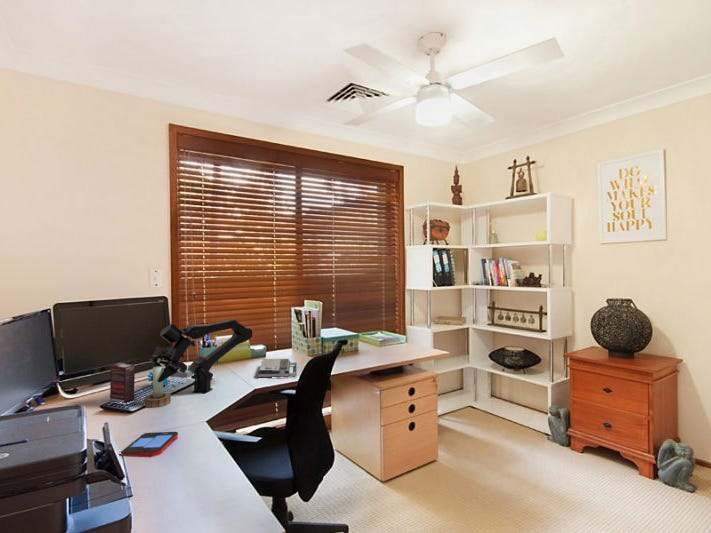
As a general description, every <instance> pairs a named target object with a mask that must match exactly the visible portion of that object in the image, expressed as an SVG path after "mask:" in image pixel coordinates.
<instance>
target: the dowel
mask: <svg viewBox="0 0 711 533" xmlns="http://www.w3.org/2000/svg"><path fill="white" fill-rule="evenodd" d="M164 368H165V366H164V367H163V366H156V367H155V366H153V367H152V371H153V381H152V382H153V386H152V394H153V397H155V398H157V397H162V396H163V392H164V387H163V385H164V383H163V381H161V382H160V383H159V382H158V379H159V377H160V376H161V374H162V373H163V371H164Z"/></svg>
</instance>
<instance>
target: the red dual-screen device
mask: <svg viewBox="0 0 711 533" xmlns="http://www.w3.org/2000/svg"><path fill="white" fill-rule="evenodd" d="M178 437H179V433H178V431H161V432H160V431H159V432H157V431H156V432H144V433H143V434H141V435H140V436H138V438H136V439H135V440H134V441H132V442H131V443H130V444H129V445H128V446H126V447H125V448H124V449H122V450H121V451H120V452H121V453H122V454H123V455H122V456H125V457H126V456H127V457H128V456H130V457H131V456H132V457H156V456H160V455H161V454H163V452H165V451H166V450H167V449H168V448H169V447H170V446H171V445H172V444H173V443H174V442H175V441H177V440H178Z"/></svg>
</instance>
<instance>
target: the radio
mask: <svg viewBox="0 0 711 533" xmlns="http://www.w3.org/2000/svg"><path fill="white" fill-rule="evenodd" d="M297 364H298V363H297V361H296V362H291V361H290V359H289V358H263V359H262V361H261V362H260V367H259V370H258V371H257V379H258V378H267V379H273V378H272V377H293V376H294V377H296V376H297V366H298V365H297ZM290 366H295V367H294V372H290V369H291V368H290Z"/></svg>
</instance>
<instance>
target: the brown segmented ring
mask: <svg viewBox="0 0 711 533" xmlns="http://www.w3.org/2000/svg"><path fill="white" fill-rule="evenodd" d="M171 398H172V395H171V393H170V392H164V391H163V396H162V397H157V398H155V397H153V393H149V394H147V395H145V397H144V399H143V400H144V403H143V404H145V408H150V409H151V408H152V409H153V408H162V407H164V406H167V405H169V404H170V403H171V401H172V399H171Z"/></svg>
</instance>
